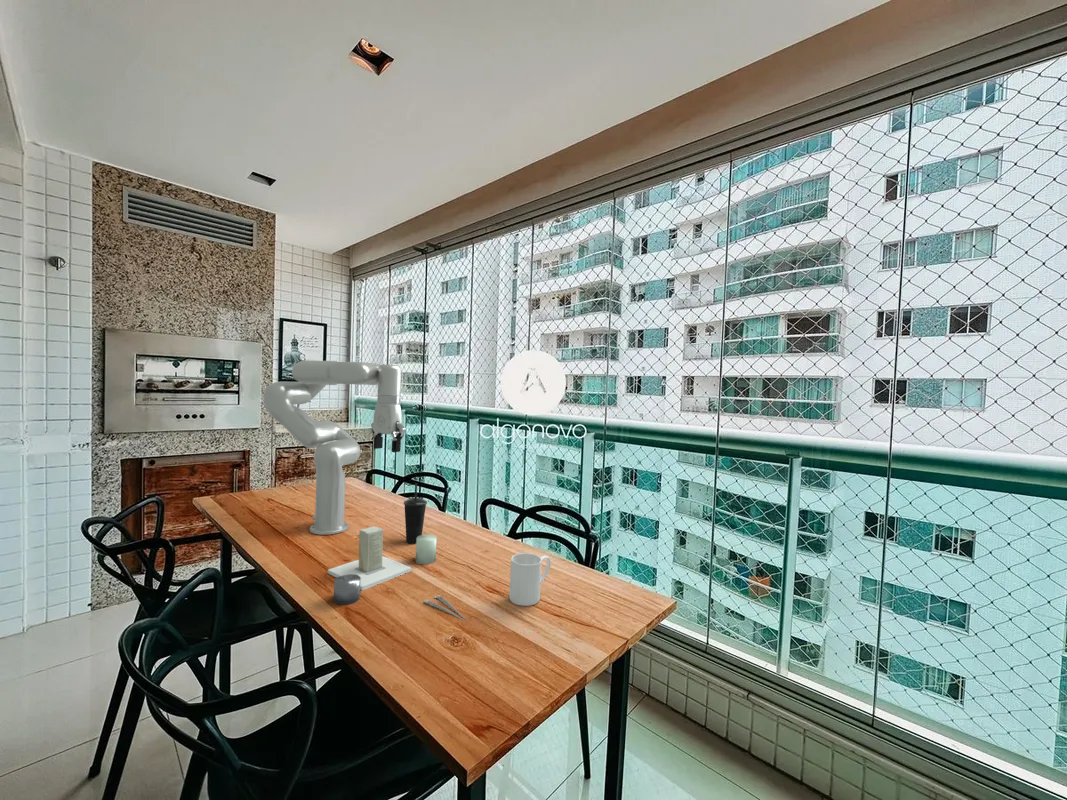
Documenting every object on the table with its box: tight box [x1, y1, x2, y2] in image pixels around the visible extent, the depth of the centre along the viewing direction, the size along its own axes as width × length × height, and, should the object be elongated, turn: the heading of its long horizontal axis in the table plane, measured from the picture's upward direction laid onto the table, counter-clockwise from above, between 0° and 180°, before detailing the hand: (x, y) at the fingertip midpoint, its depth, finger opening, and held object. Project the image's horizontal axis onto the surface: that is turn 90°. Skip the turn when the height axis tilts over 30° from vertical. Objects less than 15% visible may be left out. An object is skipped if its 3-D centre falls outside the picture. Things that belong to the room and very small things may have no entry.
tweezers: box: [423, 594, 469, 622], centre depth 107 cm, size 17×5×2 cm, turn 49°
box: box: [358, 525, 384, 572], centre depth 126 cm, size 5×4×11 cm
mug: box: [508, 552, 552, 607], centre depth 116 cm, size 12×8×10 cm, turn 130°
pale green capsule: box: [415, 534, 438, 565], centre depth 137 cm, size 6×6×7 cm
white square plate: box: [327, 555, 413, 591], centre depth 126 cm, size 16×16×1 cm
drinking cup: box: [403, 482, 428, 545], centre depth 151 cm, size 8×8×20 cm
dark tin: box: [333, 574, 361, 606], centre depth 110 cm, size 6×6×5 cm
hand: (386, 450), depth 154 cm, fingers open, 9 cm apart
